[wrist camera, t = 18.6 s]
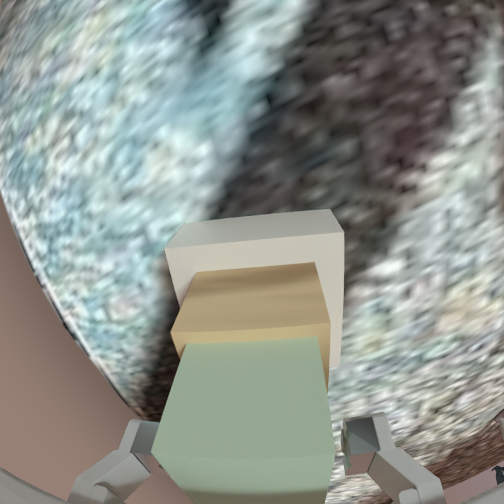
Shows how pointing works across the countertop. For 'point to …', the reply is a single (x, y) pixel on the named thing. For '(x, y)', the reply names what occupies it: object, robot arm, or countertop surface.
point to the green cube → (249, 423)
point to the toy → (503, 420)
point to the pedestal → (265, 253)
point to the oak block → (255, 307)
